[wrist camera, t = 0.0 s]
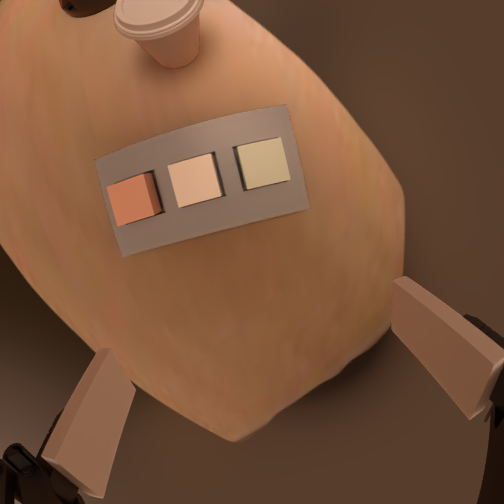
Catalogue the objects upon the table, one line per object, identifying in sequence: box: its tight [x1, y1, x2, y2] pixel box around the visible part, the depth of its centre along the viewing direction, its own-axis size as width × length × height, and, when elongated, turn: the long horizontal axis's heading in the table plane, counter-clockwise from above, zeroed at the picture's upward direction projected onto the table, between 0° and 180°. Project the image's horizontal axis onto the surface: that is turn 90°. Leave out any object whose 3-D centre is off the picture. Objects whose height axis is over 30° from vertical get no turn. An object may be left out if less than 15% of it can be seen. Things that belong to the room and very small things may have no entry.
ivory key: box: [168, 153, 222, 208], centre depth 31 cm, size 5×5×4 cm
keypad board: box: [95, 104, 310, 257], centre depth 34 cm, size 14×26×3 cm, turn 103°
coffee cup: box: [114, 0, 204, 68], centre depth 23 cm, size 10×10×15 cm
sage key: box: [236, 137, 291, 189], centre depth 31 cm, size 5×5×4 cm
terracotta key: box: [107, 173, 162, 226], centre depth 31 cm, size 5×5×4 cm
